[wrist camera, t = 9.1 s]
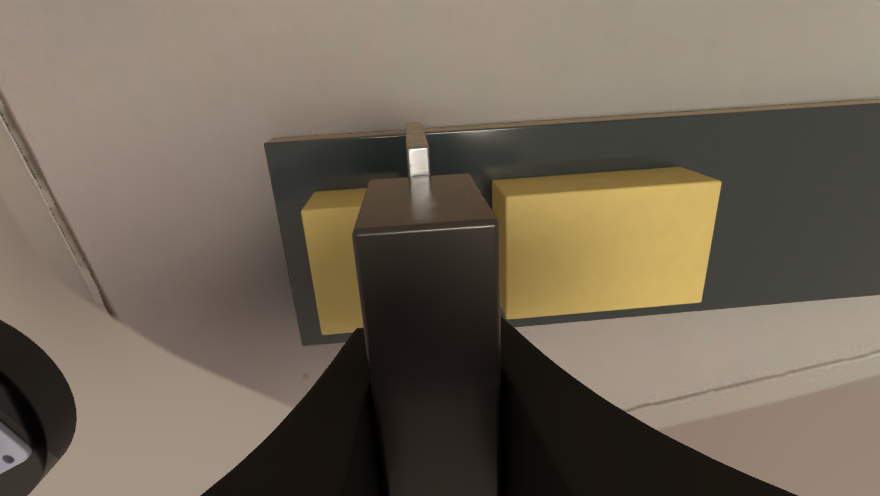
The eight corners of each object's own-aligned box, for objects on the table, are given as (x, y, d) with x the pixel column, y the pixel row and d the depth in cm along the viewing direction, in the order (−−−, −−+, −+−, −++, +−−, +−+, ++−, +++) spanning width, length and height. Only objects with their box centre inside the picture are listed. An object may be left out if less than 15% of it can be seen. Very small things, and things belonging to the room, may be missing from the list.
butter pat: (331, 302, 18) (321, 336, 16) (314, 191, 16) (299, 210, 14) (409, 296, 18) (410, 328, 16) (399, 185, 16) (399, 203, 14)
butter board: (307, 330, 19) (301, 346, 18) (272, 138, 17) (263, 142, 15) (1286, 245, 22) (1333, 255, 21) (1405, 64, 19) (1467, 64, 18)
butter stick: (493, 289, 18) (505, 320, 16) (491, 179, 16) (505, 196, 14) (665, 275, 18) (702, 303, 16) (680, 165, 17) (723, 180, 15)
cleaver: (406, 412, 15) (406, 666, 8) (377, 124, 12) (345, 189, 5) (461, 407, 15) (503, 654, 9) (449, 120, 12) (501, 178, 5)
